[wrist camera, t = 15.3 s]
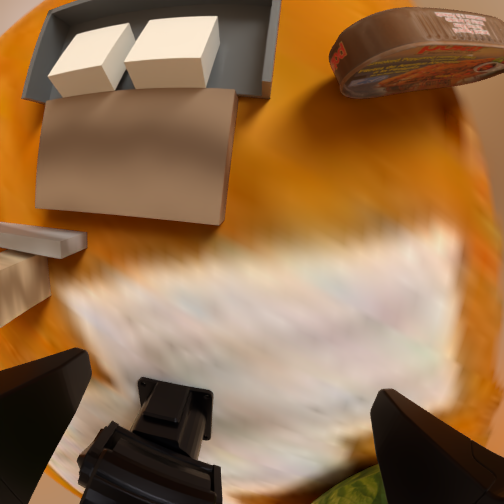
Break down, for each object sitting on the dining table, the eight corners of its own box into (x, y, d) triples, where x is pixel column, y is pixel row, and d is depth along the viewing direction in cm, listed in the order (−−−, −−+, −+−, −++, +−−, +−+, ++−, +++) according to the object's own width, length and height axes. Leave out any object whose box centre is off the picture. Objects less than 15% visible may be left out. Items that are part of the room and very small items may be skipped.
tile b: (114, 90, 15) (101, 65, 13) (63, 97, 15) (47, 76, 13) (138, 47, 16) (129, 23, 13) (88, 55, 16) (76, 34, 14)
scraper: (90, 305, 21) (40, 345, 14) (-3, 279, 21) (-49, 302, 14) (87, 232, 20) (26, 253, 13) (-8, 221, 20) (-59, 234, 13)
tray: (269, 99, 17) (271, 81, 14) (48, 105, 17) (21, 98, 14) (280, 6, 15) (283, -21, 12) (70, 24, 16) (48, 10, 12)
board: (224, 220, 19) (218, 225, 17) (54, 204, 19) (35, 208, 17) (238, 100, 17) (235, 89, 15) (64, 106, 17) (46, 100, 15)
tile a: (205, 87, 15) (200, 57, 13) (135, 89, 15) (123, 62, 13) (220, 43, 16) (217, 16, 13) (157, 45, 16) (149, 20, 13)
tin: (328, 108, 17) (371, 61, 9) (311, 67, 17) (340, 2, 8) (480, 85, 16) (546, 63, 7) (466, 52, 15) (526, 21, 7)
